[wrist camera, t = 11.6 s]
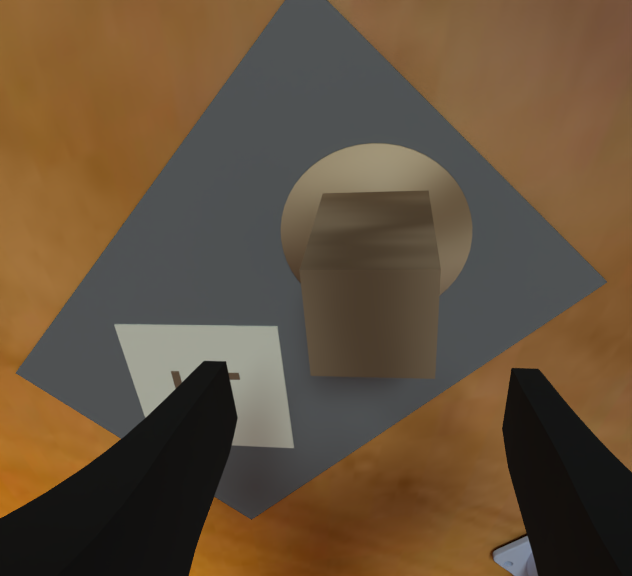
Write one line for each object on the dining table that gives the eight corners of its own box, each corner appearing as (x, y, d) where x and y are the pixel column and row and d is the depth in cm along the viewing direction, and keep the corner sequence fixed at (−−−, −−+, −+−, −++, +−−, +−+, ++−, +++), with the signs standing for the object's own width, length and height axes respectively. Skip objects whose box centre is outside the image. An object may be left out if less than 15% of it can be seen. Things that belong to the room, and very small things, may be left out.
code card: (153, 440, 29) (152, 442, 29) (114, 323, 25) (113, 325, 25) (294, 447, 28) (293, 449, 28) (277, 326, 24) (277, 328, 24)
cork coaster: (513, 235, 20) (514, 237, 20) (376, 343, 24) (375, 345, 24) (372, 98, 18) (371, 99, 18) (244, 238, 22) (243, 240, 22)
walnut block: (428, 190, 20) (441, 269, 15) (425, 281, 22) (435, 378, 17) (322, 193, 20) (299, 270, 15) (329, 282, 22) (310, 375, 17)
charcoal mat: (606, 281, 21) (607, 282, 21) (251, 518, 32) (251, 519, 32) (303, -24, 17) (302, -24, 17) (16, 372, 28) (15, 373, 28)
